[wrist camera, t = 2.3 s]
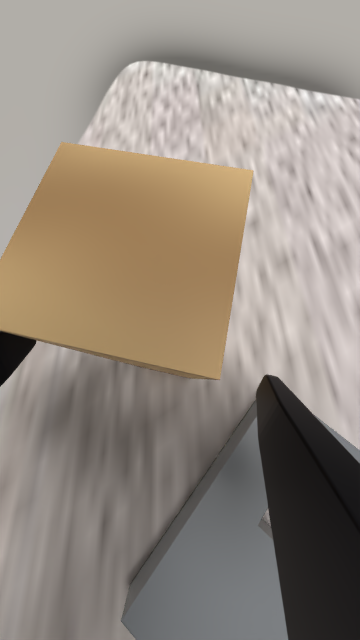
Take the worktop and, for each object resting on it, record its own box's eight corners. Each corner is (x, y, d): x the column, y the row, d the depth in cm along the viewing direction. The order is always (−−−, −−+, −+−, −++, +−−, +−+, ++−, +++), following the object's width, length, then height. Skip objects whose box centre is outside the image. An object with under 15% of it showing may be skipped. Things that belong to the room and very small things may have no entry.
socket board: (308, 794, 11) (336, 885, 9) (129, 585, 13) (120, 620, 11) (426, 511, 14) (465, 532, 12) (266, 385, 16) (276, 386, 14)
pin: (190, 378, 17) (219, 379, 3) (138, 366, 17) (-33, 322, 4) (200, 327, 18) (253, 170, 4) (151, 317, 18) (61, 141, 5)
